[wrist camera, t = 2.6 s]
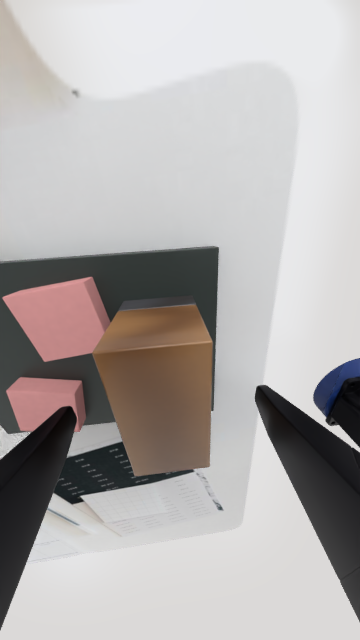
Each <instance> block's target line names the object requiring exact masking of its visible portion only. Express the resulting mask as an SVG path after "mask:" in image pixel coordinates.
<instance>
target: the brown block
mask: <svg viewBox="0 0 360 640" xmlns="http://www.w3.org/2000/svg"><path fill="white" fill-rule="evenodd" d="M212 350H213V341H212V339H211V337H210V335H209V332H208V330H207V328H206V326H205V324H204V321H203V319H202V317H201V315H200V312H199V310H198V308H197V306H196V303H195V301H194V298H193V296H192V295H189V296H177V297H165V298H153V299H141V300H129V301H124V302H123V303H122V305H121V307H120V308H119V310H118V312H117V314H116V315H115V317H114V318H113V320H112V322H111V323H110V325H109V326H108V328H107V330H106V331H105V333H104V334H103V336H102V338H101V339H100V341H99V342H98V344H97V346H96V347H95V349H94V350H93V353H92V355H93V357H94V360H95V363H96V366H97V369H98V372H99V375H100V377H101V380H102V383H103V386H104V389H105V392H106V395H107V398H108V400H109V403H110V406H111V409H112V412H113V415H114V418H115V420H116V423H117V426H118V429H119V432H120V435H121V438H122V440H123V443H124V446H125V449H126V452H127V455H128V458H129V460H130V463H131V466H132V469H133V472H134V475H135V476H142V475H150V474H158V473H166V472H174V471H182V470H190V469H197V468H205V467H209V466H210V435H211V392H212Z"/></svg>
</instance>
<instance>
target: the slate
mask: <svg viewBox="0 0 360 640" xmlns="http://www.w3.org/2000/svg"><path fill="white" fill-rule="evenodd" d="M218 252H219V248H218V247H215V246H210V247H196V248H182V249H169V250H155V251H141V252H127V253H114V254H100V255H86V256H73V257H59V258H45V259H32V260H18V261H4V262H0V425H1V426H2V427H3V428H4V430H5V431H6V432H7V433H8V434H13V433H22V432H30V431H21V430H20V428H19V425H18V422H17V420H16V417H15V414H14V411H13V409H12V406H11V403H10V400H9V398H8V395H7V392H6V390H7V389H8V388H9V387H10V386H11V385H12V384H13V383H15V382H16V381H17V380H18V379H19V378H20V377H26V378H44V379H62V380H80V381H82V386H83V395H84V404H85V413H86V419H85V421H84V423H83V425H92V424H101V423H110V422H116V420H115V418H114V415H113V412H112V409H111V406H110V403H109V400H108V398H107V395H106V392H105V389H104V386H103V383H102V380H101V377H100V375H99V372H98V369H97V366H96V363H95V360H94V357H93V355H92V353H89V354H84V355H78V356H73V357H68V358H63V359H57V360H52V361H47V362H44V360H43V359H42V357H41V356H40V354H39V353H38V351H37V350H36V348H35V347H34V345H33V344H32V342H31V341H30V339H29V338H28V336H27V335H26V333H25V332H24V330H23V329H22V327H21V326H20V324H19V323H18V321H17V320H16V318H15V317H14V315H13V314H12V312H11V311H10V309H9V308H8V306H7V305H6V303H5V302H4V300H3V299H2V297H4V296H7V295H10V294H12V293H15V292H18V291H20V290H25V289H31V288H36V287H41V286H46V285H51V284H56V283H62V282H67V281H72V280H77V279H82V278H87V277H93V280H94V282H95V285H96V287H97V290H98V292H99V295H100V297H101V300H102V302H103V305H104V308H105V310H106V313H107V315H108V318H109V320H110V323H111V322H112V320H113V318H114V317H115V315H116V314H117V312H118V310H119V308H120V307H121V305H122V303H123V302H124V301H129V300H141V299H153V298H165V297H177V296H189V295H192V296H193V298H194V301H195V303H196V306H197V308H198V310H199V312H200V315H201V317H202V319H203V321H204V324H205V326H206V328H207V330H208V332H209V335H210V337H211V339H212V341H213V350H212V392H211V411H213V407H214V376H215V345H216V314H217V283H218ZM83 425H82V426H83Z"/></svg>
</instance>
